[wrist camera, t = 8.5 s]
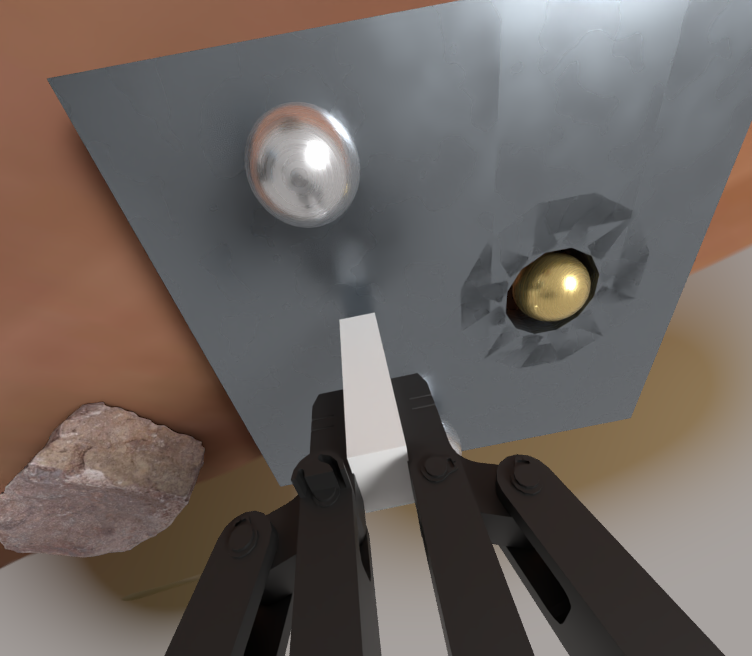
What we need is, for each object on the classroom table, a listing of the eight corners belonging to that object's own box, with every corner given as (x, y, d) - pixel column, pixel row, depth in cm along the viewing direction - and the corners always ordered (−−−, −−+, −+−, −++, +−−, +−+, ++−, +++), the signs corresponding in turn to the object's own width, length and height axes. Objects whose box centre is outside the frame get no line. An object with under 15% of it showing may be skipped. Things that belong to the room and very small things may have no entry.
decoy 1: (276, 221, 13) (258, 251, 10) (241, 114, 11) (206, 112, 8) (364, 204, 13) (373, 229, 10) (346, 95, 11) (350, 85, 8)
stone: (24, 486, 23) (-40, 561, 19) (80, 381, 19) (15, 448, 15) (156, 519, 27) (126, 586, 23) (226, 437, 23) (204, 502, 19)
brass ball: (501, 322, 18) (556, 341, 15) (493, 262, 17) (552, 270, 14) (546, 299, 19) (607, 312, 16) (542, 240, 18) (608, 243, 15)
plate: (285, 454, 24) (280, 486, 22) (97, 86, 12) (46, 78, 10) (604, 391, 24) (630, 418, 22) (742, -37, 12) (829, -70, 10)
